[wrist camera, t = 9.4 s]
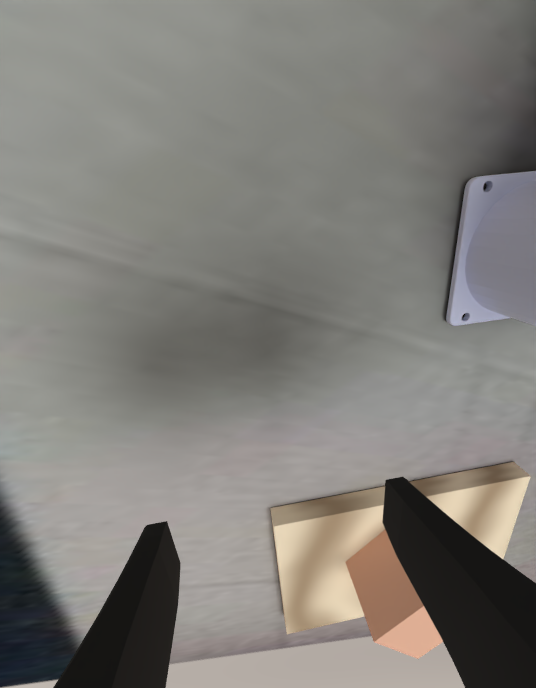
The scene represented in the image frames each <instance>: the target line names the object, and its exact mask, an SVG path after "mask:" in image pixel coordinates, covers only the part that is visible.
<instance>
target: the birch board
mask: <svg viewBox="0 0 536 688" xmlns="http://www.w3.org/2000/svg"><path fill="white" fill-rule="evenodd" d="M529 479H530V475H529V474H528V473H526V472H525V471H524V470H523V469H522V468H520V467H519V466H518V465H517V464H516V463H514V462H510V463H504V464H499V465H494V466H489V467H483V468H478V469H473V470H468V471H462V472H457V473H452V474H447V475H441V476H436V477H431V478H426V479H420V480H415V481H410V483H411V484H412V485H413V486H414V487H416V488H417V489H418V490H419V491H420V492H421V493H422V494H424V495H425V496H426V497H427V498H428V499H429V500H430V501H432V502H433V503H434V504H435V505H436V506H437V507H439V508H440V509H441V510H442V511H443V512H444V513H446V514H447V515H448V516H449V517H450V518H452V519H453V520H454V521H455V522H456V523H458V524H459V525H460V526H461V527H463V528H464V529H465V530H466V531H467V532H469V533H470V534H471V535H472V536H474V537H475V538H476V539H477V540H479V541H480V542H481V543H482V544H484V545H485V546H486V547H487V548H489V549H490V550H491V551H493V552H494V553H495V554H497V555H498V556H499V557H501V558H502V559H504V556H505V552H506V549H507V546H508V543H509V540H510V537H511V534H512V531H513V528H514V525H515V522H516V519H517V516H518V513H519V510H520V507H521V504H522V501H523V498H524V495H525V492H526V489H527V486H528V482H529ZM384 495H385V486H384V487H379V488H373V489H368V490H363V491H358V492H352V493H347V494H342V495H337V496H331V497H326V498H321V499H316V500H310V501H305V502H300V503H295V504H289V505H284V506H279V507H274V508H270V509H271V517H272V525H273V533H274V541H275V548H276V556H277V564H278V572H279V580H280V588H281V596H282V604H283V612H284V618H285V625H286V631H287V634H290V633H294V632H299V631H303V630H307V629H312V628H316V627H320V626H325V625H329V624H333V623H338V622H342V621H347V620H351V619H355V618H360V617H364V613H363V610H362V607H361V604H360V602H359V599H358V596H357V593H356V590H355V588H354V585H353V582H352V579H351V577H350V574H349V571H348V568H347V565H346V563H345V562H346V561H347V560H348V559H350V558H351V557H352V556H353V555H355V554H356V553H357V552H358V551H359V550H361V549H362V548H363V547H364V546H366V545H367V544H368V543H369V542H370V541H372V540H373V539H374V538H375V537H377V536H378V535H379V534H380V533H381V532H383V531H384V530H385V527H384V525H383V523H382V520H383V508H384Z"/></svg>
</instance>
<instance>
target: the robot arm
mask: <svg viewBox="0 0 536 688" xmlns="http://www.w3.org/2000/svg"><path fill="white" fill-rule="evenodd" d="M485 183H486V184H487V187H486V190H485V191H484V190H483V186H484V184H485ZM463 314H465V316H464V317H463V318H462V316H463ZM507 318H513V319H516V320H519V321H522V322H525V323H528V324H531V325H534V326H536V171H530V172H519V173H509V174H498V175H488V176H479V177H474V178H471V179H470V180H469V181H468V182H467V184H466V186H465V191H464V198H463V205H462V212H461V219H460V226H459V233H458V239H457V246H456V253H455V260H454V267H453V274H452V281H451V288H450V295H449V302H448V309H447V316H446V321H447V322H448V323H449V324H451V325H453V326H458V325H465V324H472V323H479V322H486V321H493V320H500V319H507ZM382 523H383V525H384V527H385V530H386V532H387V535H388V537H389V540H390V542H391V544H392V546H393V549H394V551H395V553H396V556H397V558H398V559H399V561H400V563H401V565H402V567H403V569H404V571H405V573H406V574H407V576H408V578H409V580H410V582H411V584H412V585H413V587H414V589H415V591H416V593H417V595H418V596H419V598H420V600H421V602H422V604H423V605H424V607H425V609H426V611H427V613H428V615H429V616H430V618H431V620H432V622H433V624H434V625H435V627H436V629H437V631H438V633H439V635H440V636H441V638H442V640H443V642H444V644H445V646H446V648H447V650H448V652H449V654H450V656H451V658H452V660H453V662H454V664H455V666H456V668H457V671H458V672H459V675H460V677H461V679H462V681H463V684H464V686H465V688H536V583H535V582H533V581H532V580H530V579H529V578H528V577H526V576H525V575H523V574H522V573H521V572H519V571H518V570H517V569H515V568H514V567H512V566H511V565H510V564H508V563H507V562H506V561H504V560H503V559H502V558H501V557H499V556H498V555H497V554H495V553H494V552H493V551H491V550H490V549H489V548H487V547H486V546H485V545H484V544H482V543H481V542H480V541H479V540H477V539H476V538H475V537H474V536H472V535H471V534H470V533H469V532H467V531H466V530H465V529H464V528H463V527H461V526H460V525H459V524H458V523H456V522H455V521H454V520H453V519H452V518H450V517H449V516H448V515H447V514H446V513H444V512H443V511H442V510H441V509H440V508H439V507H437V506H436V505H435V504H434V503H433V502H432V501H430V500H429V499H428V498H427V497H426V496H425V495H424V494H422V493H421V492H420V491H419V490H418V489H417V488H416V487H414V486H413V485H412V484H411V483H410V482H409V481H408V480H406V479H405V478H404V477H399V478H394V479H389V480H386V483H385V495H384V508H383V520H382ZM179 580H180V560H179V557H178V554H177V551H176V548H175V545H174V542H173V539H172V536H171V533H170V529H169V526H168V523H167V521H166V522H161V523H156V524H150V525H147V526H146V527H145V528H144V530H143V532H142V534H141V536H140V538H139V540H138V542H137V544H136V546H135V548H134V550H133V552H132V554H131V556H130V558H129V560H128V562H127V564H126V565H125V567H124V569H123V571H122V573H121V575H120V577H119V579H118V581H117V582H116V584H115V586H114V588H113V589H112V591H111V593H110V595H109V597H108V598H107V600H106V602H105V604H104V606H103V607H102V609H101V611H100V613H99V614H98V616H97V618H96V620H95V621H94V623H93V625H92V626H91V628H90V630H89V631H88V633H87V635H86V636H85V638H84V640H83V641H82V643H81V645H80V646H79V648H78V649H77V651H76V653H75V654H74V656H73V658H72V659H71V661H70V663H69V664H68V666H67V667H66V669H65V670H64V672H63V674H62V675H61V677H60V678H59V680H58V681H57V683H56V685H55V686H54V688H165V687H166V680H167V674H168V667H169V661H170V654H171V648H172V641H173V634H174V628H175V621H176V614H177V607H178V596H179Z"/></svg>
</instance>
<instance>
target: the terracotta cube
mask: <svg viewBox="0 0 536 688" xmlns="http://www.w3.org/2000/svg"><path fill="white" fill-rule="evenodd" d="M345 563H346V565H347V568H348V571H349V574H350V577H351V579H352V582H353V585H354V588H355V590H356V593H357V596H358V599H359V602H360V604H361V607H362V610H363V613H364V616H365V618H366V621H367V624H368V627H369V630H370V632H371V635H372V638H373V641H374V642H375V643H378V644H380V645H383V646H386V647H388V648H391V649H393V650H396V651H399V652H401V653H404V654H407V655H409V656H412V657H415V658H417V659H418V658H420V657H421V656H423V655H424V654H426V653H427V652H428V651H430V650H431V649H433V648H435V647H436V646H437V645H438V644H440V643H442V642H443V640H442V638H441V636H440V635H439V633H438V631H437V629H436V627H435V625H434V624H433V622H432V620H431V618H430V616H429V615H428V613H427V611H426V609H425V607H424V605H423V604H422V602H421V600H420V598H419V596H418V595H417V593H416V591H415V589H414V587H413V585H412V584H411V582H410V580H409V578H408V576H407V574H406V573H405V571H404V569H403V567H402V565H401V563H400V561H399V559H398V558H397V556H396V553H395V551H394V549H393V546H392V544H391V542H390V540H389V537H388V535H387V532H386V530H384V531H383V532H381V533H380V534H379V535H378V536H377V537H375V538H374V539H373V540H372V541H370V542H369V543H368V544H367V545H366V546H364V547H363V548H362V549H361V550H359V551H358V552H357V553H356V554H355V555H353V556H352V557H351V558H350V559H348V560H347V561H346V562H345Z"/></svg>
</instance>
